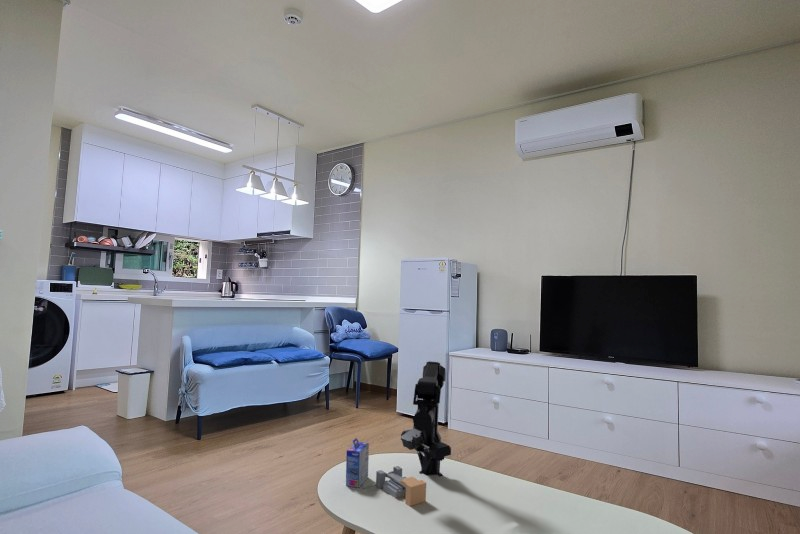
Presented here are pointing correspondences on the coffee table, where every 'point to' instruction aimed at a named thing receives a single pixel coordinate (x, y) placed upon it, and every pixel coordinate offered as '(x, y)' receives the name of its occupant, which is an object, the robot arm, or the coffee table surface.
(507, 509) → the coffee table surface
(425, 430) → the robot arm
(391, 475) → the strap
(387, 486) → the board
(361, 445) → the ink cartridge box
